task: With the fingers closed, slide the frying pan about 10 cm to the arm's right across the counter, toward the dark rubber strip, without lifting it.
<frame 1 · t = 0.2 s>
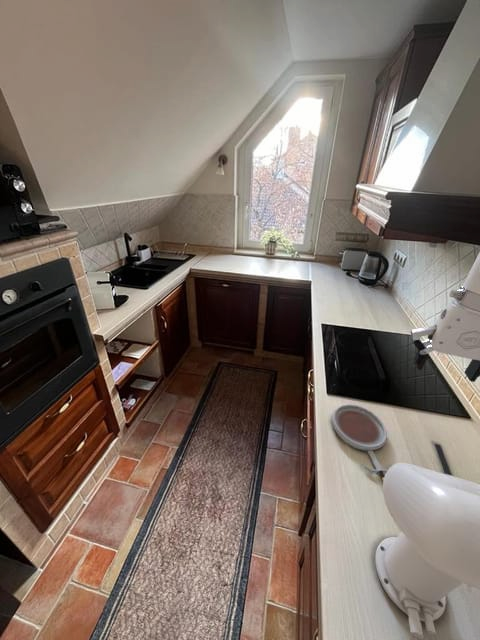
hand: (442, 371, 55), 37 cm above the worktop, tool pointing down, fingers open, 9 cm apart
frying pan: (364, 444, 80), on the worktop
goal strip: (443, 462, 75), on the worktop
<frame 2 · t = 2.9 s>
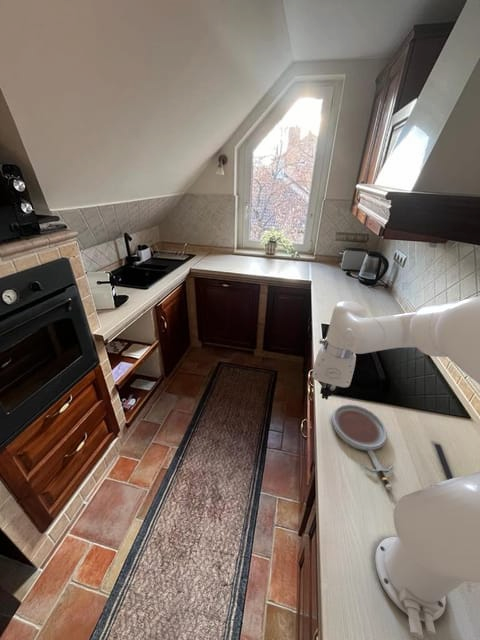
hand: (324, 395, 76), 15 cm above the worktop, tool pointing down, fingers closed
nothing on the worktop moved.
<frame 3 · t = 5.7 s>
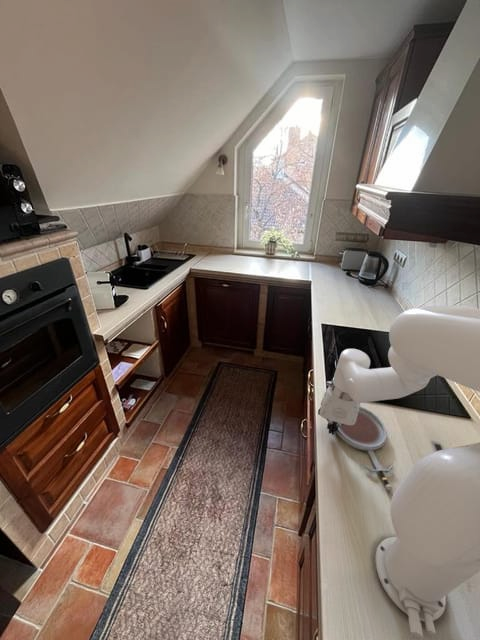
hand: (331, 430, 82), 2 cm above the worktop, tool pointing down, fingers closed
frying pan: (364, 444, 80), on the worktop, touching gripper
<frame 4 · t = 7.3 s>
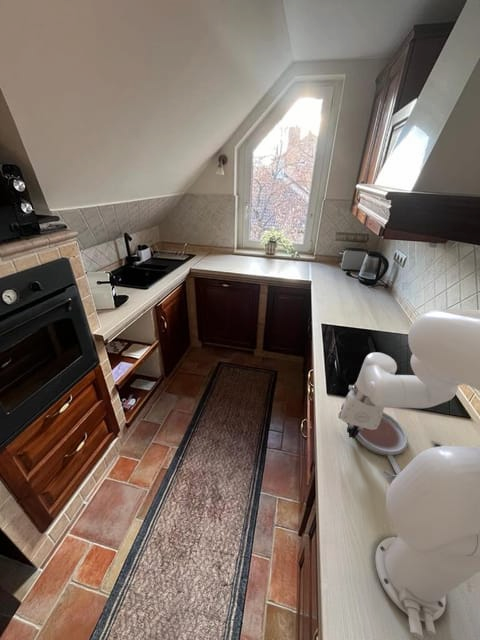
hand: (351, 434, 80), 2 cm above the worktop, tool pointing down, fingers closed
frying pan: (384, 449, 79), on the worktop, touching gripper
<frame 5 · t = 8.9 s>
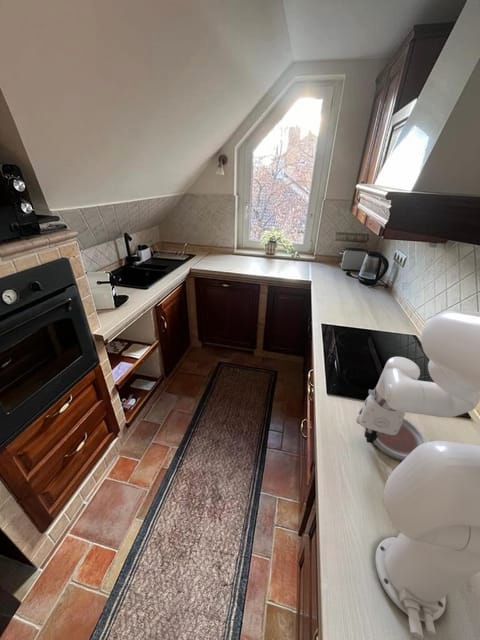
hand: (369, 438, 79), 2 cm above the worktop, tool pointing down, fingers closed
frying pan: (402, 454, 77), on the worktop, touching gripper
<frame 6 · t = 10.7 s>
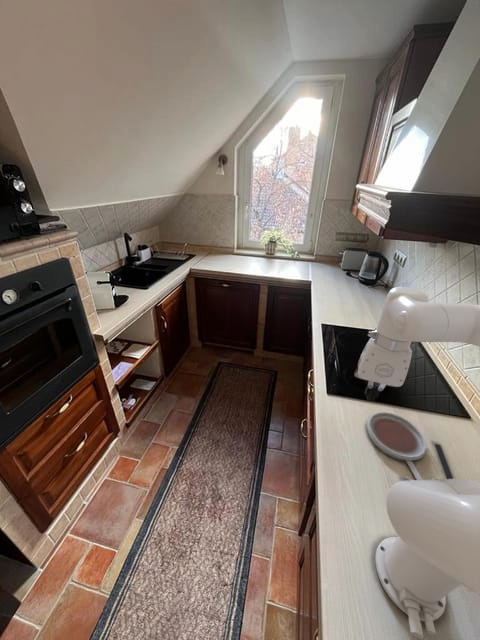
hand: (369, 397, 68), 22 cm above the worktop, tool pointing down, fingers closed
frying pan: (402, 454, 77), on the worktop
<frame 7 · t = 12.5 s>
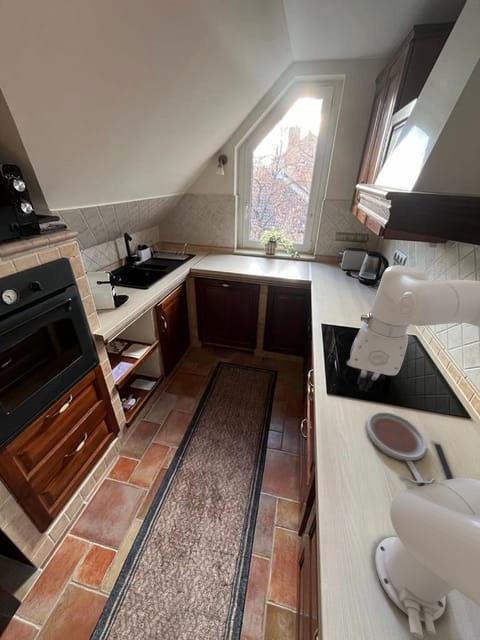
hand: (363, 387, 63), 27 cm above the worktop, tool pointing down, fingers closed
nothing on the worktop moved.
at the end: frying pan inside the target area (0.6 cm from its centre), on the worktop; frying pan moved 10.8 cm from its start; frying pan touching worktop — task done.
